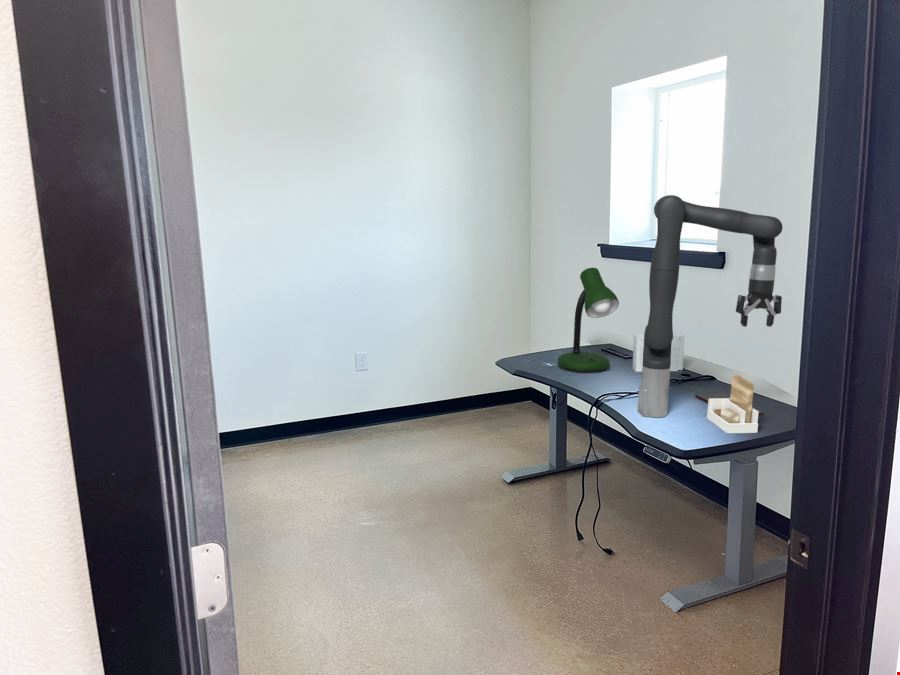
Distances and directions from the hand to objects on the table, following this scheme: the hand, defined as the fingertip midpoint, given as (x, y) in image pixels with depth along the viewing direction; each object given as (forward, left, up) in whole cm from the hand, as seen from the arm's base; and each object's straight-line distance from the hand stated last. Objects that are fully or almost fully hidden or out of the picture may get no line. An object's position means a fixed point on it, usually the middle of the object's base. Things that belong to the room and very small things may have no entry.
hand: (756, 326), depth 218 cm
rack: (-8, -6, -33) cm, 34 cm away
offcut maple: (-11, -8, -30) cm, 33 cm away
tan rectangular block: (-6, -6, -33) cm, 34 cm away
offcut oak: (-10, -8, -33) cm, 35 cm away
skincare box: (-7, +65, -33) cm, 73 cm away
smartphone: (+1, +15, -33) cm, 37 cm away
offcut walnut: (-10, -2, -33) cm, 34 cm away
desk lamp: (-37, +69, -33) cm, 85 cm away
